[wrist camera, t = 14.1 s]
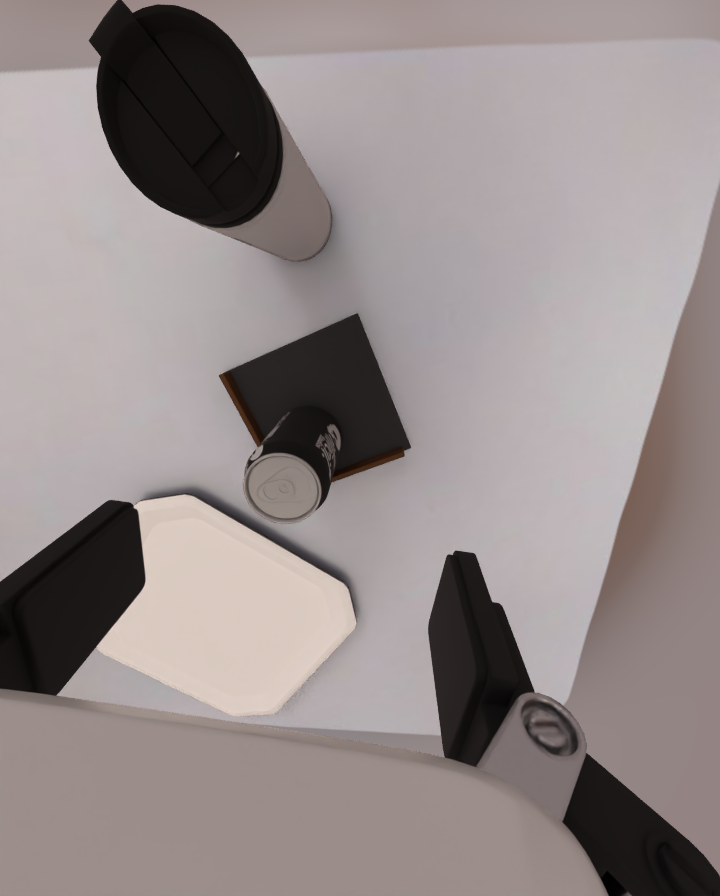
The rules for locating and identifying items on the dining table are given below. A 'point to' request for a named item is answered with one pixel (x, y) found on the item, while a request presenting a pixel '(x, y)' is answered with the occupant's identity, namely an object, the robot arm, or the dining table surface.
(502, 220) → the dining table surface
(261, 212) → the travel mug
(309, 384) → the corner mat
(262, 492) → the beverage can
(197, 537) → the plate
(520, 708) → the robot arm
